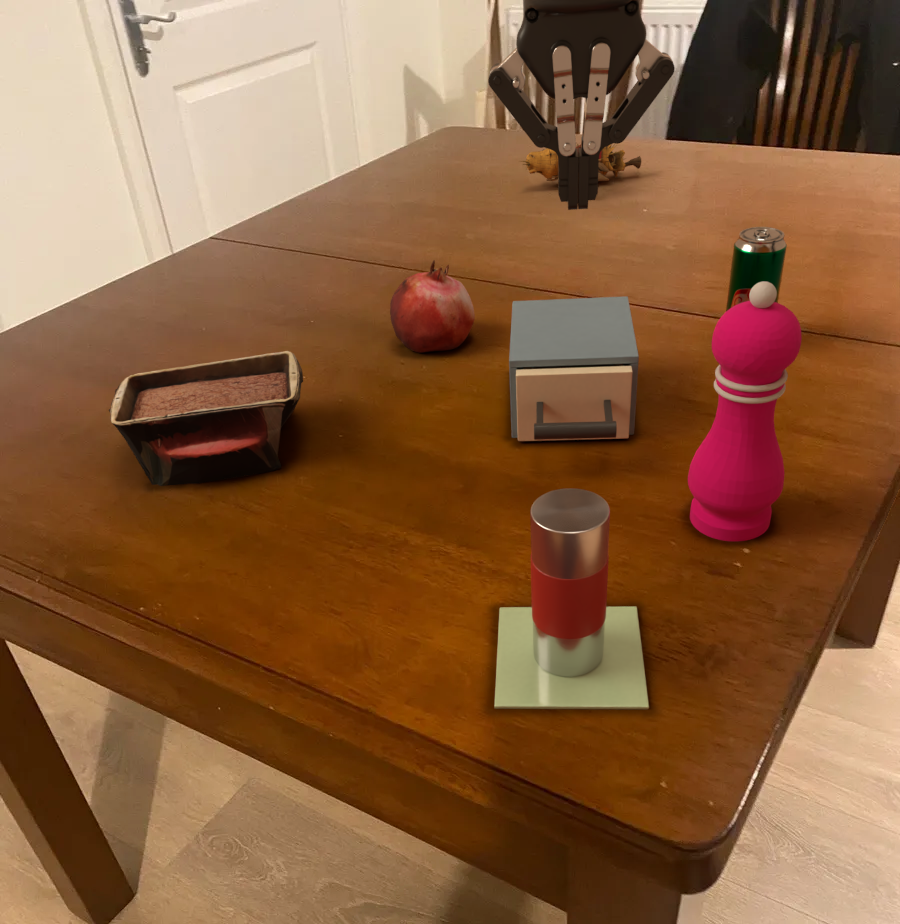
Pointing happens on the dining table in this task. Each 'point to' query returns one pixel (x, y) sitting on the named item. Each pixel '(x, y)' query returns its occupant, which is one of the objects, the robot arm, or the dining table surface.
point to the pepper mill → (744, 419)
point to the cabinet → (572, 339)
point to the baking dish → (208, 417)
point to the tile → (599, 689)
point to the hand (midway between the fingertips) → (578, 205)
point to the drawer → (573, 402)
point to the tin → (569, 580)
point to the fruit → (431, 311)
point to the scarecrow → (548, 159)
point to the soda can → (756, 262)
